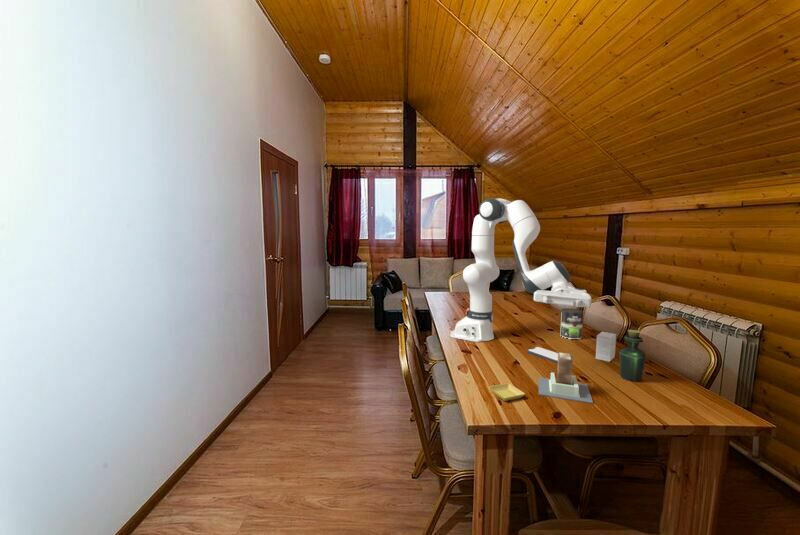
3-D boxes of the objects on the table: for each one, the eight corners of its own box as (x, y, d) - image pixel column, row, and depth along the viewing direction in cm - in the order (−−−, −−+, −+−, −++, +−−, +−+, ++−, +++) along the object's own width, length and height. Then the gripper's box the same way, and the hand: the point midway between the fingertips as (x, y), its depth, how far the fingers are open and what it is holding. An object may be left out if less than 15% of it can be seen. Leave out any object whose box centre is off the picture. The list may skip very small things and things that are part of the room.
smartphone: (570, 360, 144) (537, 349, 158) (570, 357, 144) (537, 346, 157) (558, 365, 140) (525, 353, 153) (559, 361, 139) (525, 349, 153)
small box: (600, 354, 151) (602, 331, 150) (615, 357, 147) (616, 333, 146) (595, 358, 145) (596, 335, 144) (609, 362, 141) (611, 337, 140)
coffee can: (585, 340, 170) (586, 313, 168) (563, 339, 171) (564, 312, 170) (577, 334, 180) (579, 308, 178) (557, 333, 182) (558, 307, 180)
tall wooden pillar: (557, 390, 114) (559, 357, 113) (556, 382, 119) (558, 352, 118) (570, 392, 112) (572, 359, 111) (569, 384, 118) (570, 353, 117)
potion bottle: (638, 384, 120) (641, 335, 118) (613, 376, 127) (616, 330, 125) (648, 379, 124) (651, 332, 122) (623, 371, 131) (627, 326, 129)
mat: (538, 394, 112) (538, 393, 112) (538, 378, 125) (538, 377, 125) (593, 403, 107) (593, 402, 106) (586, 385, 119) (587, 384, 119)
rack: (549, 392, 113) (550, 383, 113) (548, 380, 122) (549, 372, 122) (579, 397, 110) (580, 388, 109) (576, 384, 119) (577, 376, 119)
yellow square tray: (508, 388, 118) (508, 382, 118) (525, 399, 110) (525, 393, 110) (487, 392, 115) (487, 386, 115) (503, 404, 107) (504, 398, 107)
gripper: (535, 285, 141) (531, 291, 129) (590, 290, 132) (593, 298, 120) (534, 299, 142) (530, 307, 130) (589, 306, 133) (591, 315, 121)
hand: (561, 303), depth 125 cm, fingers open, 8 cm apart
